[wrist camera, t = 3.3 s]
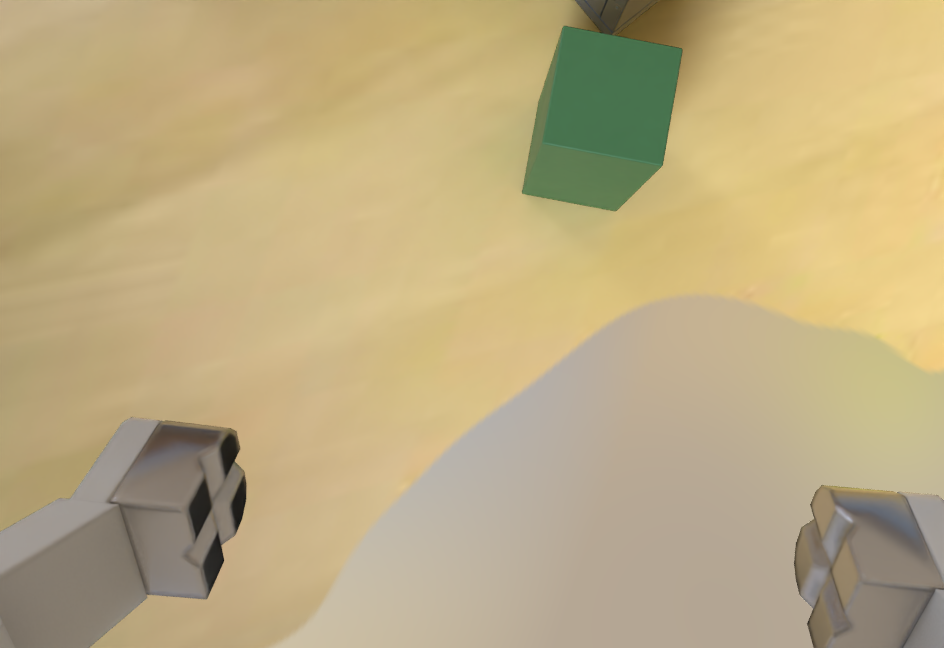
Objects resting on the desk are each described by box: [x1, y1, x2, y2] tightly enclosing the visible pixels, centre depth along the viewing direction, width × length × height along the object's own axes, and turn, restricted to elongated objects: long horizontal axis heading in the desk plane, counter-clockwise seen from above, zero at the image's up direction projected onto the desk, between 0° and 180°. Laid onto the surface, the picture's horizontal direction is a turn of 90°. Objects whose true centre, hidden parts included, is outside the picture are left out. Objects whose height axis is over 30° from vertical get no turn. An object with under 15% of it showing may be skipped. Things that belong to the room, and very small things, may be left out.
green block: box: [522, 26, 682, 211], centre depth 37 cm, size 5×5×9 cm
